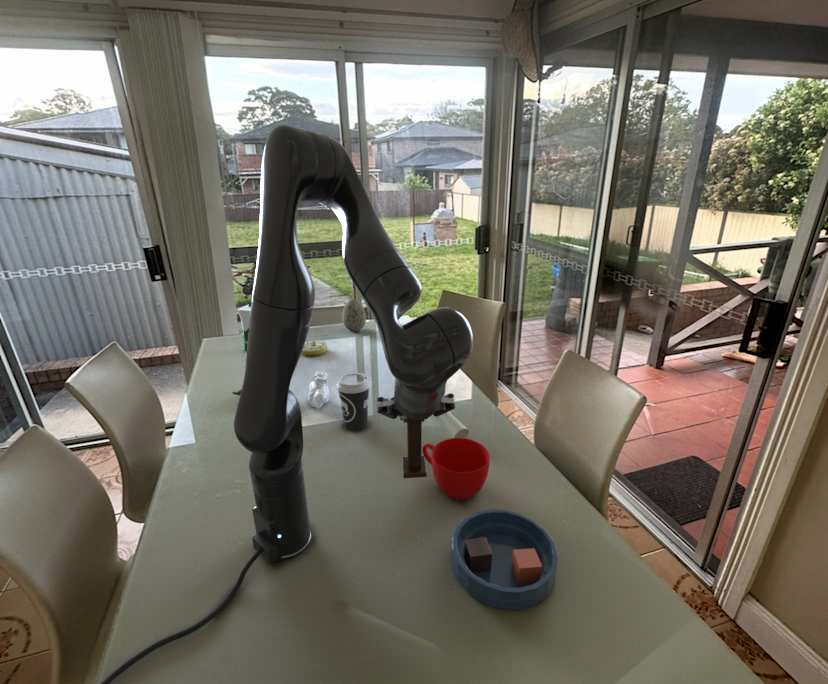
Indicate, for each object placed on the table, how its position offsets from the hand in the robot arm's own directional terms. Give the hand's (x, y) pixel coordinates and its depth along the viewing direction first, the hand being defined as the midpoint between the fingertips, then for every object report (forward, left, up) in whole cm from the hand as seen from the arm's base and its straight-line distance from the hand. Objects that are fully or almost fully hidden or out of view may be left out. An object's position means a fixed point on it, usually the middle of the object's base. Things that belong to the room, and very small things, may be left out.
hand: (413, 416), depth 82 cm
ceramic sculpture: (+9, +74, -26) cm, 79 cm away
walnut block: (0, -16, -25) cm, 30 cm away
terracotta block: (+3, -24, -25) cm, 35 cm away
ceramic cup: (+14, +1, -26) cm, 30 cm away
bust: (+20, +57, -26) cm, 66 cm away
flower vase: (+37, +25, -26) cm, 51 cm away
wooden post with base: (0, 0, -12) cm, 12 cm away
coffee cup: (+18, +38, -26) cm, 49 cm away
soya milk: (+32, +113, -26) cm, 120 cm away
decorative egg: (+73, +98, -26) cm, 125 cm away
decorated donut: (+45, +92, -26) cm, 106 cm away
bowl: (+2, -19, -26) cm, 32 cm away
